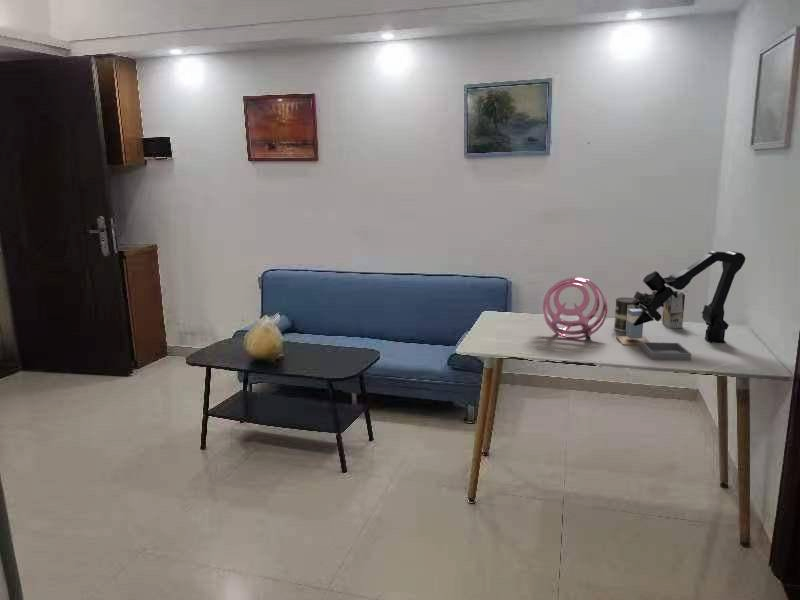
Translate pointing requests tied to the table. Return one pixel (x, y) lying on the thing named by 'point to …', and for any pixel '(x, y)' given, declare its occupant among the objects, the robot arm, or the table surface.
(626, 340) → the pad
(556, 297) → the spiral basket
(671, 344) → the tray
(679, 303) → the coffee box
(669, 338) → the table surface
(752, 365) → the table surface
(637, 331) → the carton
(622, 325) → the coffee can
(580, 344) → the table surface
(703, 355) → the table surface
